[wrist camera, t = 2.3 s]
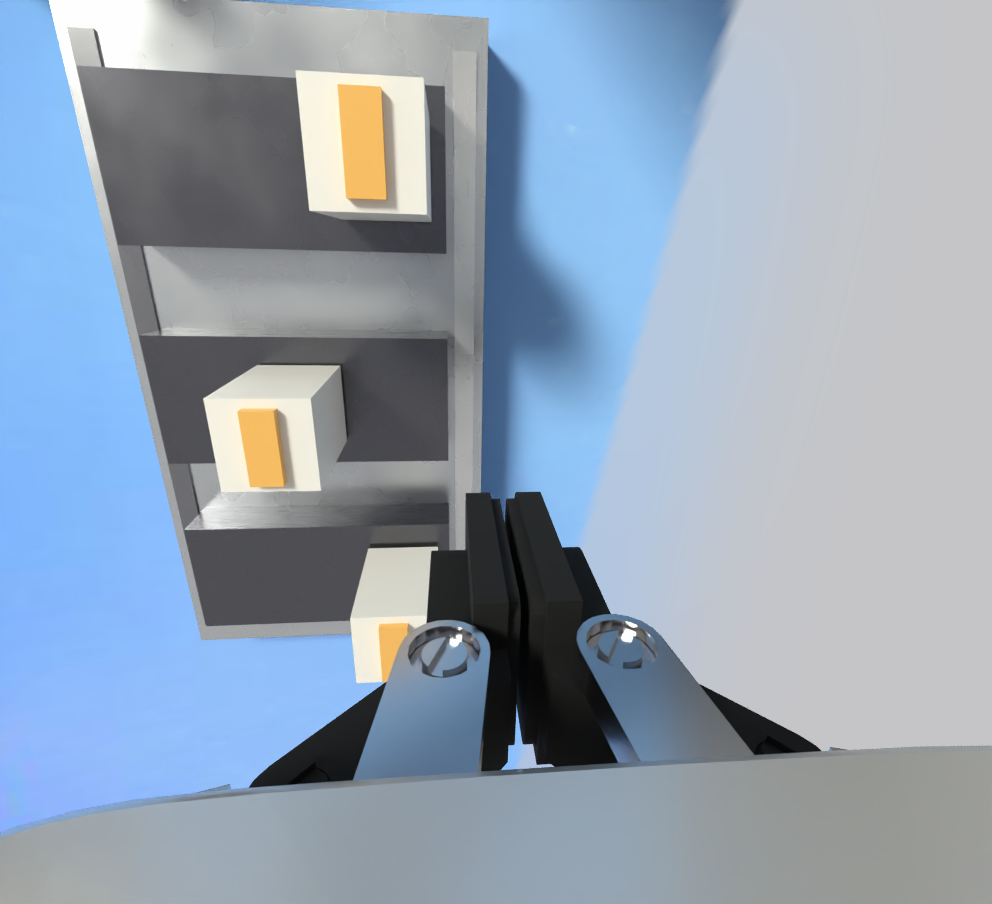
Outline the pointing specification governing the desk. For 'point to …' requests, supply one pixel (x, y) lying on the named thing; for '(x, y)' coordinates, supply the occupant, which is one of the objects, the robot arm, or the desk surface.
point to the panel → (287, 282)
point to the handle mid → (277, 428)
